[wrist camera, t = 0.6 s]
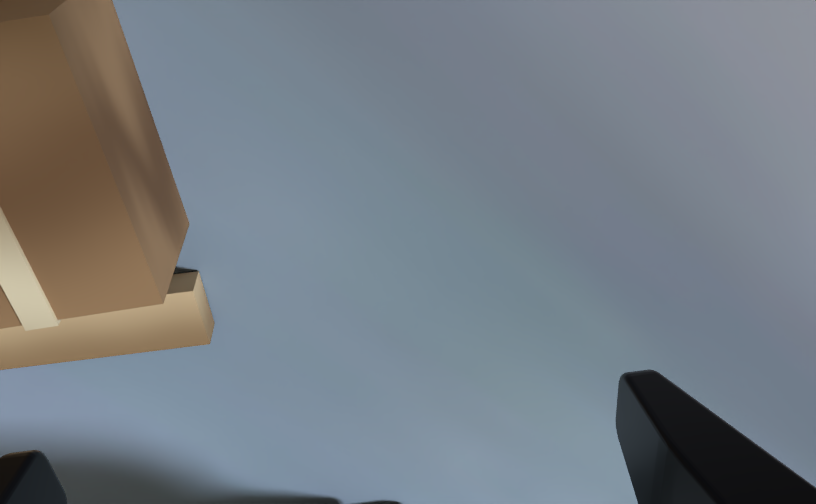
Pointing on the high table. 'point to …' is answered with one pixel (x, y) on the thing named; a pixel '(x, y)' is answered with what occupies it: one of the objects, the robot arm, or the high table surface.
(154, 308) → the light brown long piece
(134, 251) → the crate
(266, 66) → the high table surface
